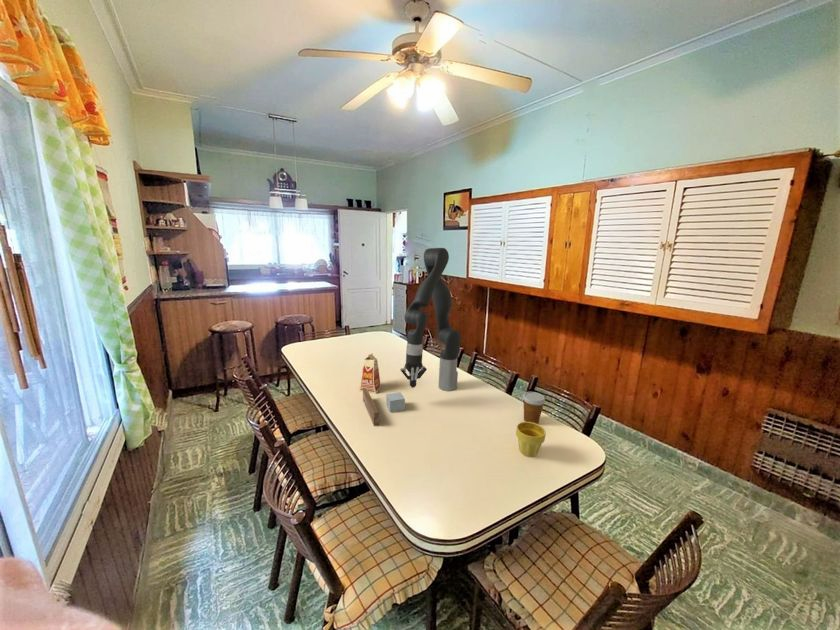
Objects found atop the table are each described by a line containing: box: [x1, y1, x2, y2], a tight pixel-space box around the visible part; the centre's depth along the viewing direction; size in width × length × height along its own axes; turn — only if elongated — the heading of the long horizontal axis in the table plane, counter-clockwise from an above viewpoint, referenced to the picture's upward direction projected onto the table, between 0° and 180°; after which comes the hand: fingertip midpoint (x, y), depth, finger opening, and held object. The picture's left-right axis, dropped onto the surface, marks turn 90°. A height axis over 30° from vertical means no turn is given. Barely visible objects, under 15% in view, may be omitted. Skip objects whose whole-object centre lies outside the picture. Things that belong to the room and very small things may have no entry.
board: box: [362, 388, 379, 427], centre depth 148 cm, size 2×24×6 cm, turn 21°
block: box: [385, 391, 406, 413], centre depth 152 cm, size 7×7×6 cm
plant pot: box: [515, 421, 547, 458], centre depth 123 cm, size 10×10×10 cm
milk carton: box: [358, 352, 381, 395], centre depth 169 cm, size 9×9×20 cm
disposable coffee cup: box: [522, 391, 546, 425], centre depth 144 cm, size 10×10×12 cm
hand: (412, 386), depth 154 cm, fingers closed
